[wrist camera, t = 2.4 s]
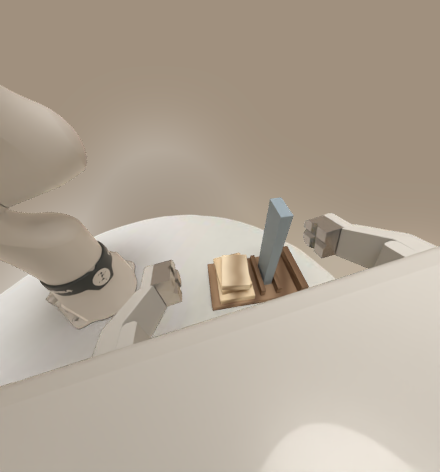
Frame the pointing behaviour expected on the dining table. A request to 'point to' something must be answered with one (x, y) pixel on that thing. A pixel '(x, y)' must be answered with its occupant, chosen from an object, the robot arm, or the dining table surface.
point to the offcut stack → (233, 278)
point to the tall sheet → (274, 238)
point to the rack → (282, 283)
